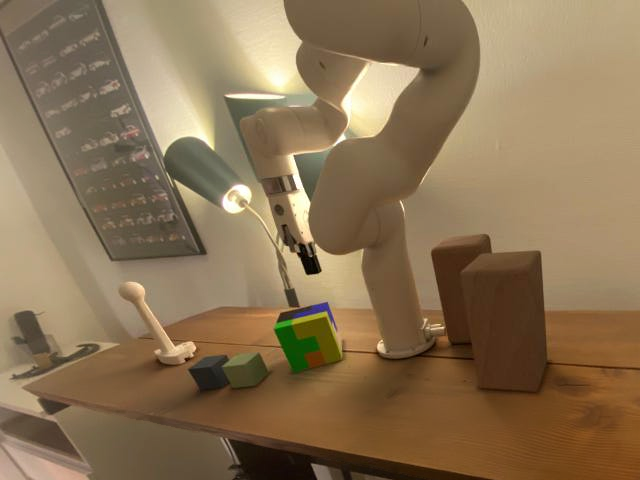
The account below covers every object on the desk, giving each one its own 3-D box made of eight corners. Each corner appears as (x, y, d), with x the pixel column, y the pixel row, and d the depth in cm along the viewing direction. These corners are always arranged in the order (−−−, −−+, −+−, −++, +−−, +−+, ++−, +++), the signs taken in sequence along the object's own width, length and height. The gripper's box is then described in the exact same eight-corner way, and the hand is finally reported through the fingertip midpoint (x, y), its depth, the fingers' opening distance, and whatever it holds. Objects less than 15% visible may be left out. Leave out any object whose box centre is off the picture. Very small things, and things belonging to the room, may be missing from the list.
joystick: (154, 360, 94) (104, 284, 85) (185, 346, 100) (142, 274, 90) (175, 366, 89) (125, 286, 79) (207, 351, 95) (163, 274, 85)
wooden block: (548, 361, 67) (541, 249, 57) (537, 393, 59) (527, 269, 49) (495, 359, 70) (480, 252, 61) (478, 389, 62) (458, 272, 53)
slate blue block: (237, 374, 80) (226, 354, 78) (222, 387, 76) (210, 366, 74) (216, 376, 81) (204, 356, 79) (200, 389, 77) (187, 369, 74)
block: (494, 344, 76) (480, 244, 66) (447, 345, 78) (428, 249, 69) (501, 323, 84) (490, 232, 75) (459, 325, 87) (442, 237, 77)
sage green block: (269, 372, 79) (259, 352, 77) (255, 385, 75) (244, 364, 72) (247, 374, 80) (236, 354, 77) (232, 387, 75) (221, 366, 73)
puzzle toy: (341, 341, 88) (327, 301, 83) (342, 359, 80) (326, 316, 75) (297, 352, 86) (280, 312, 81) (293, 372, 77) (273, 329, 73)
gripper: (282, 187, 70) (316, 282, 79) (315, 181, 83) (341, 262, 92) (245, 193, 71) (283, 286, 80) (284, 185, 84) (312, 266, 93)
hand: (314, 273), depth 86 cm, fingers closed
